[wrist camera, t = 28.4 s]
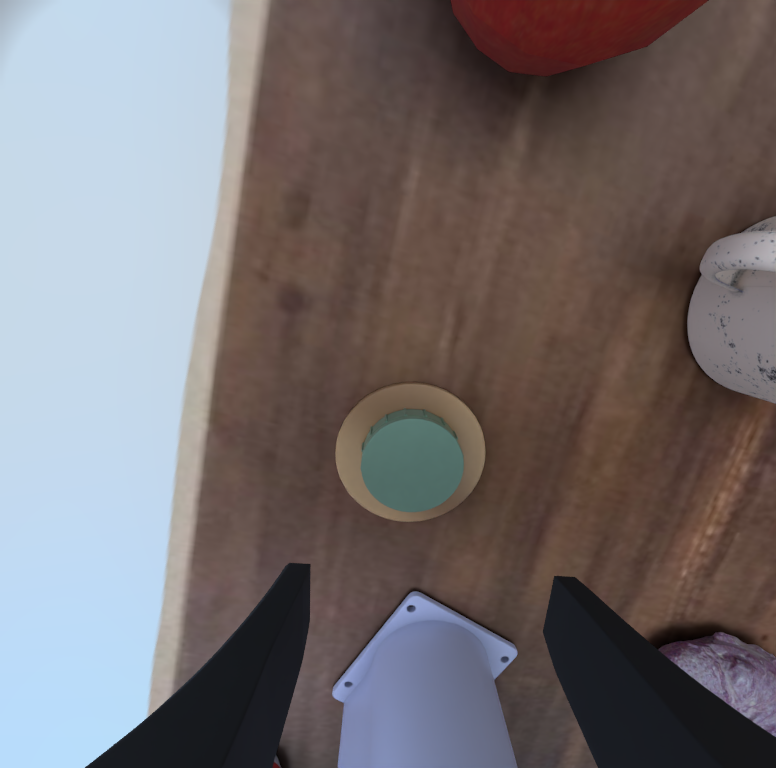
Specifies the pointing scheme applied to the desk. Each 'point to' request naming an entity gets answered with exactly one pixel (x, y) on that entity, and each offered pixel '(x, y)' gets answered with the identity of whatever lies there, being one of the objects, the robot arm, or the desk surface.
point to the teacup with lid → (738, 312)
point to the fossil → (731, 673)
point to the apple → (565, 30)
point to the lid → (411, 460)
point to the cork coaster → (396, 400)
